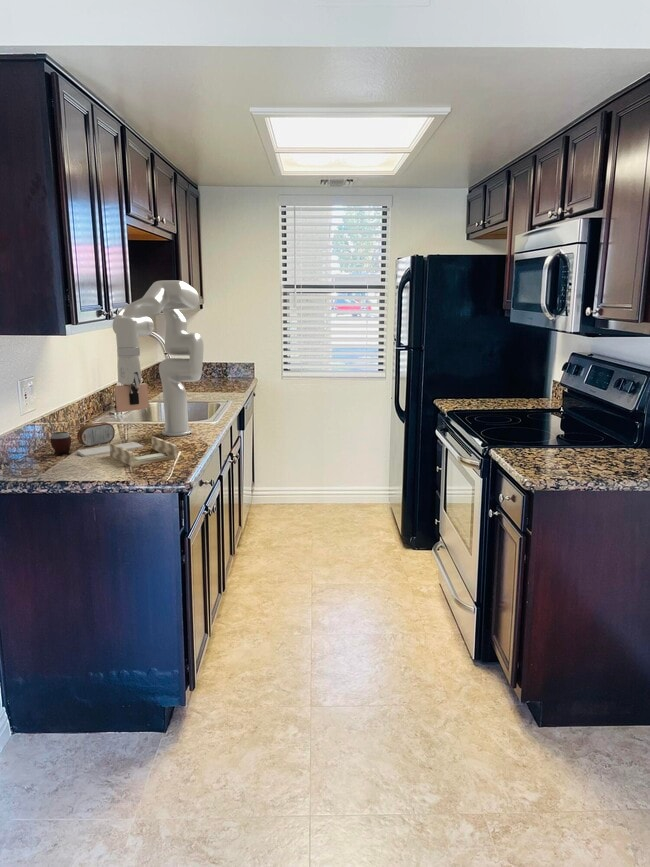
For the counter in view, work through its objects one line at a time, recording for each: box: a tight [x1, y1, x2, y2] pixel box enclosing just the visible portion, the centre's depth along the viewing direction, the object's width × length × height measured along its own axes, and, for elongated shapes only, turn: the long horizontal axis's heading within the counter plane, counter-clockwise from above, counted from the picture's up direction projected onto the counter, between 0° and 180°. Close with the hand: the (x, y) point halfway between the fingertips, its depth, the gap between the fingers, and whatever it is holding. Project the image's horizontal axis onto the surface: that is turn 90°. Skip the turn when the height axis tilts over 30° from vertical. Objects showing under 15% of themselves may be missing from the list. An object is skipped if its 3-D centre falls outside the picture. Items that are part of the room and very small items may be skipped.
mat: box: [76, 441, 144, 458], centre depth 233 cm, size 9×22×1 cm, turn 129°
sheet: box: [114, 382, 150, 413], centre depth 222 cm, size 2×11×9 cm, turn 130°
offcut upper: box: [134, 452, 167, 461], centre depth 218 cm, size 4×10×1 cm, turn 128°
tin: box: [76, 421, 116, 447], centre depth 242 cm, size 15×3×8 cm, turn 141°
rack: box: [108, 436, 178, 467], centre depth 221 cm, size 19×17×5 cm
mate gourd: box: [40, 415, 72, 457], centre depth 226 cm, size 8×8×15 cm
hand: (132, 403), depth 222 cm, fingers closed on sheet, 2 cm apart
